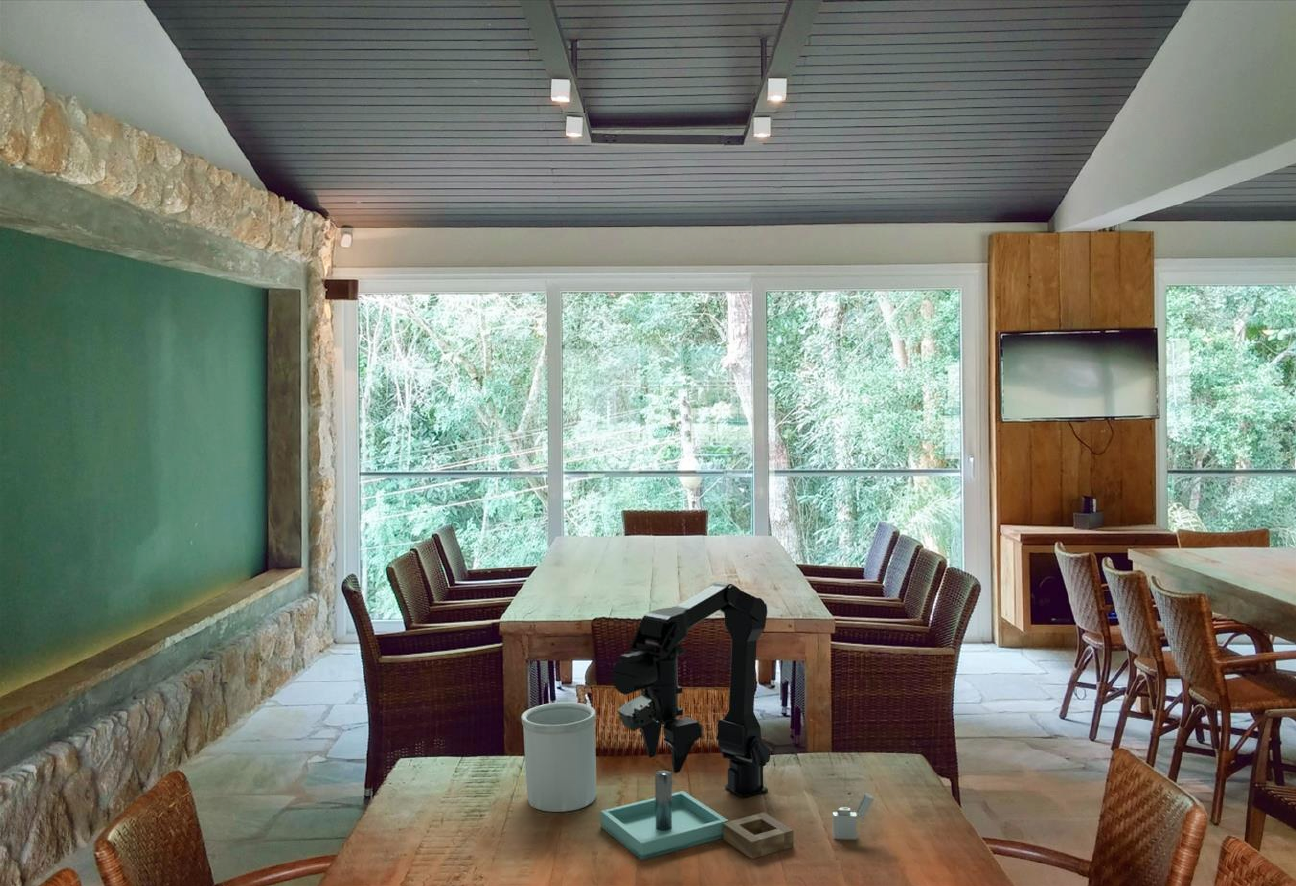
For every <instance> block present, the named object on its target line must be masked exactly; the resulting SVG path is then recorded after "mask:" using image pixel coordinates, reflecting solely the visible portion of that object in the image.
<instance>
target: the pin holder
mask: <svg viewBox="0 0 1296 886" xmlns="http://www.w3.org/2000/svg"><path fill="white" fill-rule="evenodd" d="M722 840H723V841H725V842H727V844H730V845H731V846H732V847H733V848H735V849H737V850H738V851H740V852H741V853H742V854H744V855H745V856H747V857H748V858H749V859H751V860H753V859H757V858H759V857H760V858H761V857H763V856H767V855H770V854H773V853H777V852H780V851H784V850H787V849H791V848H794V840H795V839H794V829H792V828H790V827H789V826H787V825H785V824H784V823H782V822H780V821H779V820H778V819H776V818H774V817H772V816H770V815H769V814H767V813H766V812H760V813H755V814H753V815H749V816H746V817H742V818H738V819H734V820H733V819H732V820H730V821H729V820H728V822H726V823H723V838H722Z"/></svg>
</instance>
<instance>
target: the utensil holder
mask: <svg viewBox="0 0 1296 886" xmlns="http://www.w3.org/2000/svg"><path fill="white" fill-rule="evenodd" d="M596 717H597V714H596V710H595V708H594V707H593V706H590V705H588V704H586V703H581V702H570V701H562V702H561V701H559V702H558V701H557V702H550V703H545V704H541V705H536V706H534V707H531V708H529V709H527V710H525V711H524V712H523V713H522V714H521V723H522V727H523V731H522V732H523V746H524V747H523V748H524V749H523V750H524V765H525V766H524V767H525V780H526V795H527V801H528V804H529V806H531V807H532V808H534V809H536V810H539V811H544V812H549V813H551V812H552V813H561V812H562V813H565V812H572V811H576V810H579V809H582V808H585V807H587V806H589V805H591V804H592V803H593V802H594V801H595V799H596V797H597V759H596V758H597V755H596V722H595V721H596Z"/></svg>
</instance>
